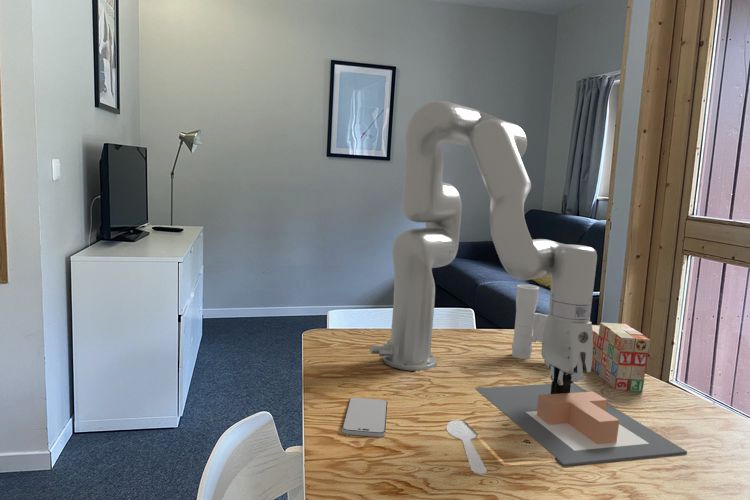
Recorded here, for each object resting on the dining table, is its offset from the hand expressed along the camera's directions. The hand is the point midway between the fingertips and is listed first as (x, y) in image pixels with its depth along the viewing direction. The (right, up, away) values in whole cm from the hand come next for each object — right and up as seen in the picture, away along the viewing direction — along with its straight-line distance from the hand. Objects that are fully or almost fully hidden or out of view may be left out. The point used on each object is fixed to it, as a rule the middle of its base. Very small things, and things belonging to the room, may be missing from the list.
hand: (559, 402), depth 107 cm
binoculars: (+7, +2, +32) cm, 33 cm away
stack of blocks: (+20, 0, +23) cm, 30 cm away
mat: (+1, -2, -3) cm, 4 cm away
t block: (+2, -3, -8) cm, 8 cm away
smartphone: (-37, -1, -8) cm, 38 cm away
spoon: (-20, -3, -16) cm, 26 cm away
